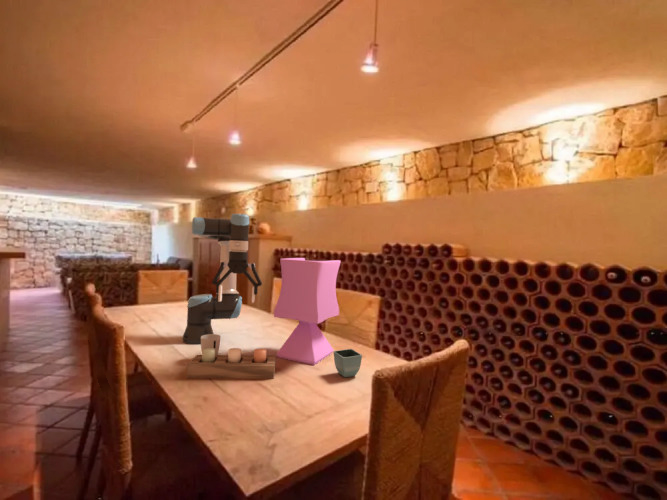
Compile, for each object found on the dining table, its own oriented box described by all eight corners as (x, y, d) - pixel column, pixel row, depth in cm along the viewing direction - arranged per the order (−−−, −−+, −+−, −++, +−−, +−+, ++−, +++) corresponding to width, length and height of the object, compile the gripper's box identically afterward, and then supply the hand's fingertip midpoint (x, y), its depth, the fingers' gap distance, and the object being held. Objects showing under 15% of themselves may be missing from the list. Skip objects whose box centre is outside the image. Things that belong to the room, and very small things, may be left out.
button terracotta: (254, 360, 137) (255, 348, 137) (266, 360, 137) (267, 348, 137) (252, 364, 132) (253, 352, 132) (265, 364, 133) (265, 352, 133)
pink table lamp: (337, 352, 164) (341, 260, 163) (315, 366, 144) (320, 261, 143) (297, 345, 174) (301, 257, 173) (272, 357, 153) (276, 258, 153)
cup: (213, 363, 142) (214, 340, 142) (195, 361, 144) (196, 338, 144) (223, 357, 150) (224, 335, 150) (206, 355, 152) (207, 333, 152)
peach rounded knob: (229, 360, 136) (229, 348, 136) (241, 360, 136) (241, 348, 136) (226, 364, 131) (227, 351, 131) (239, 364, 132) (239, 351, 131)
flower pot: (342, 380, 131) (343, 357, 130) (332, 372, 138) (333, 350, 138) (361, 377, 135) (362, 355, 134) (350, 369, 142) (351, 348, 142)
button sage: (203, 360, 135) (204, 347, 135) (215, 360, 135) (216, 347, 135) (200, 364, 130) (200, 351, 130) (212, 364, 130) (213, 351, 130)
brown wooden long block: (196, 366, 138) (197, 354, 138) (275, 367, 141) (276, 355, 141) (186, 378, 126) (187, 365, 126) (273, 378, 129) (274, 365, 129)
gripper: (205, 249, 136) (203, 302, 137) (267, 252, 138) (265, 304, 138) (210, 249, 144) (208, 299, 144) (269, 252, 145) (267, 301, 146)
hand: (236, 301), depth 141 cm, fingers open, 13 cm apart
